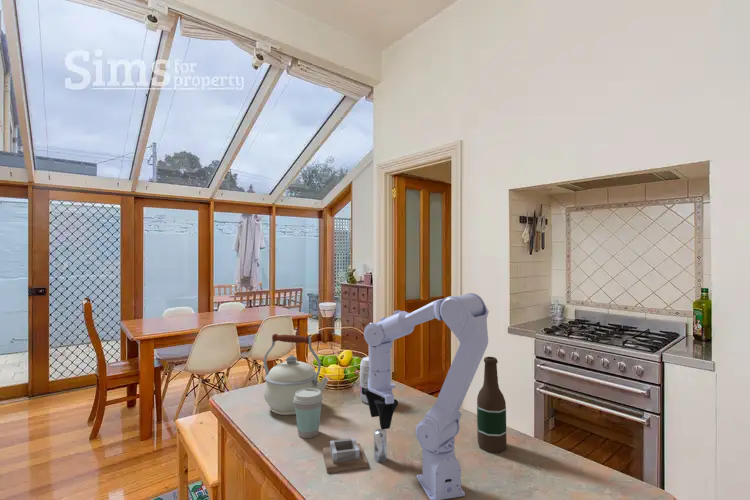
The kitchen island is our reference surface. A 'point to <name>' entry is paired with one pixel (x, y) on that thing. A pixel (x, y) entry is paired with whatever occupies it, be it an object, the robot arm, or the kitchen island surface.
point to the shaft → (380, 445)
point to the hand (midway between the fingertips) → (380, 422)
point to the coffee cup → (308, 411)
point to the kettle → (289, 377)
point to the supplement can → (364, 378)
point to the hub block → (344, 456)
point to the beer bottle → (491, 411)
